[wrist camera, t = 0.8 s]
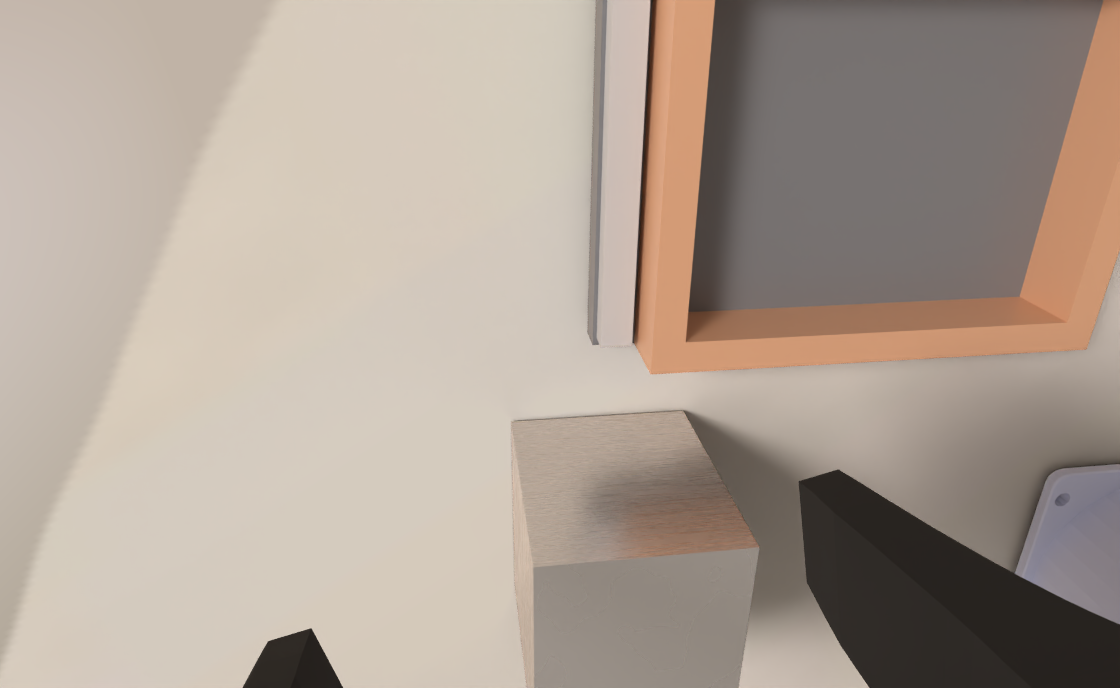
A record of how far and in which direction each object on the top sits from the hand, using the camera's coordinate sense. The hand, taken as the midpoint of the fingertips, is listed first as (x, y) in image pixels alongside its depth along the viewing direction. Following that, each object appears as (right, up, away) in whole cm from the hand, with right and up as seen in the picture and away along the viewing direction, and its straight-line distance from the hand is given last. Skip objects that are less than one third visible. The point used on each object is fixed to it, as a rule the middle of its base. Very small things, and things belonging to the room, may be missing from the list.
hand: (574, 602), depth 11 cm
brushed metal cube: (+1, -1, +12) cm, 12 cm away
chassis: (+7, +9, +8) cm, 14 cm away
